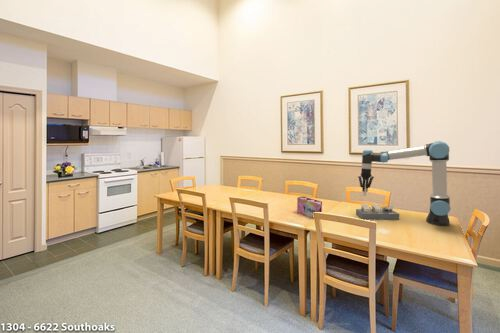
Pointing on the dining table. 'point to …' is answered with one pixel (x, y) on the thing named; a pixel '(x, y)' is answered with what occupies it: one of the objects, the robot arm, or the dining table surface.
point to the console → (377, 214)
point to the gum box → (308, 206)
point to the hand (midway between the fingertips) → (364, 195)
